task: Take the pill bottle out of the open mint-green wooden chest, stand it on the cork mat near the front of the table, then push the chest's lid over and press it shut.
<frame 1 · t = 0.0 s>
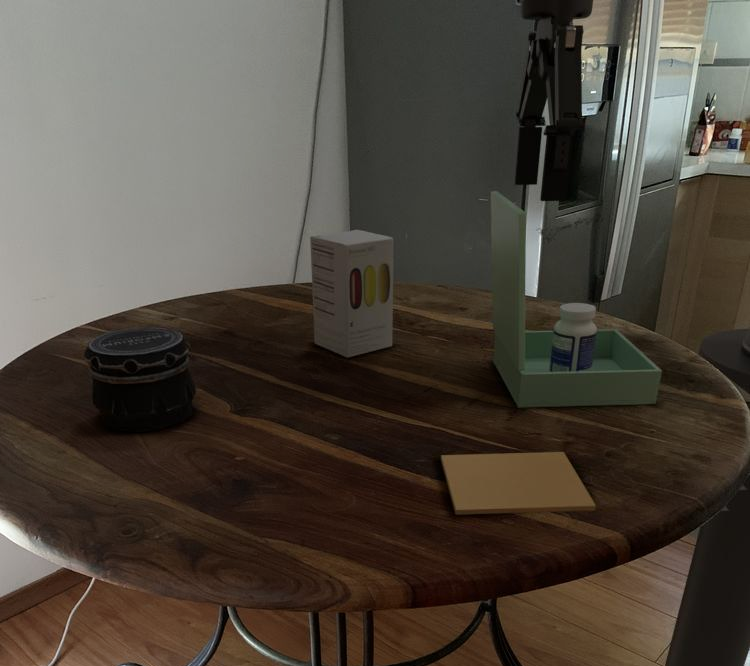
hand: (538, 192, 88), 25 cm above the table, tool pointing down, fingers open, 13 cm apart
supplement box: (353, 346, 118), on the table
pill bottle: (568, 378, 103), resting on chest
cork mat: (513, 483, 78), on the table
chest: (568, 381, 104), on the table
chest lid: (507, 278, 96), point 15 cm above the table, hinge at 95.0°
container: (148, 416, 95), on the table
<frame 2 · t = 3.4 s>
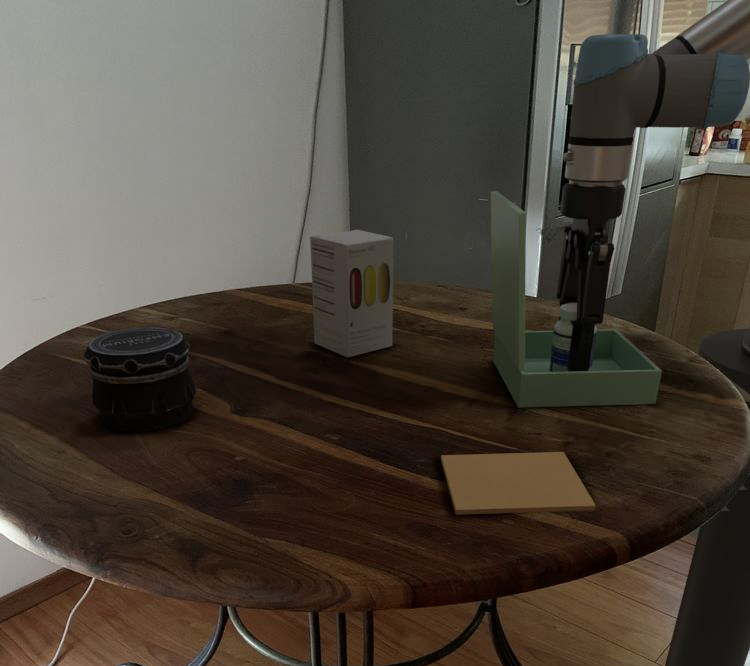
hand: (571, 361, 102), 3 cm above the table, tool pointing down, fingers closed on pill bottle, 6 cm apart
pill bottle: (569, 378, 103), resting on chest, touching gripper
everything else where it was.
when the fingers open (3 cm above the table, at t = 12.2 s): pill bottle stays where it is, resting on cork mat.
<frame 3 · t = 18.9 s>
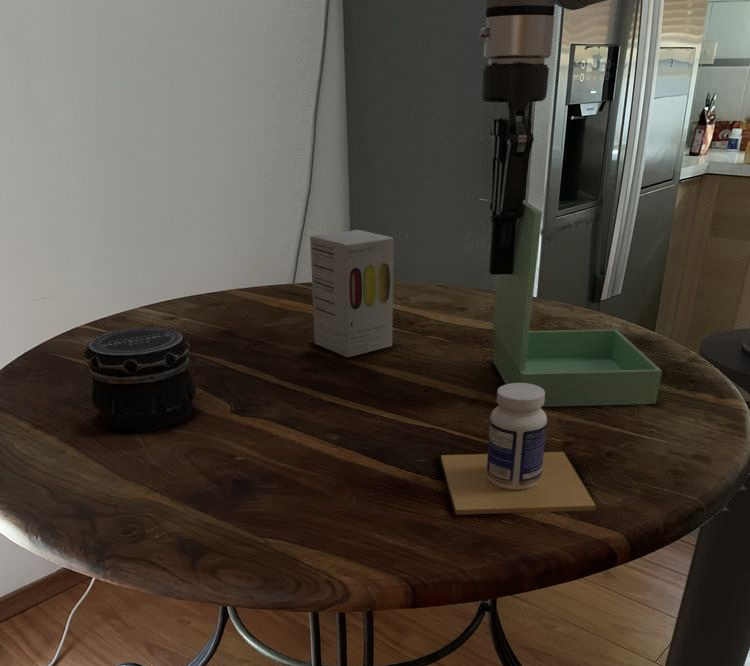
hand: (500, 272, 96), 15 cm above the table, tool pointing down, fingers closed
pill bottle: (512, 480, 78), resting on cork mat
chest lid: (514, 277, 96), point 15 cm above the table, hinge at 89.3°, touching gripper
everything else where it was.
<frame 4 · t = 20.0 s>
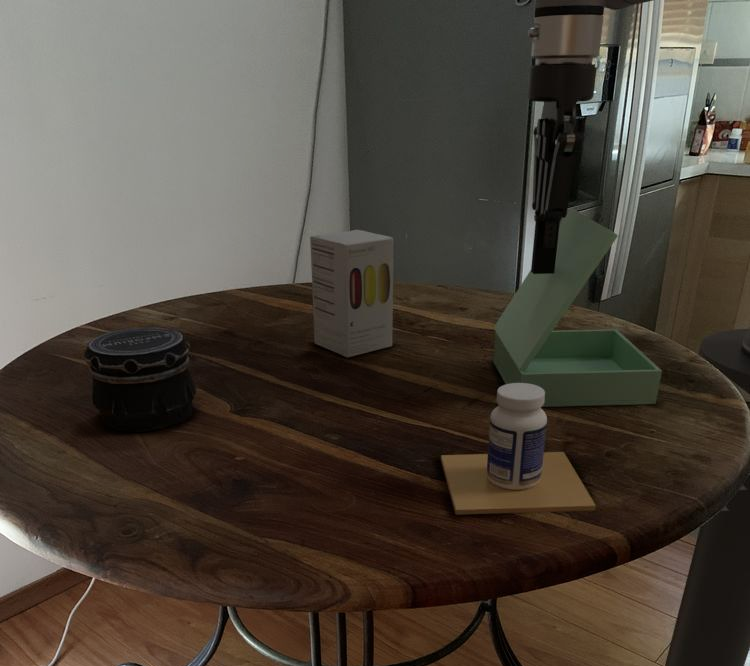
hand: (542, 272, 96), 15 cm above the table, tool pointing down, fingers closed
chest lid: (548, 287, 97), point 13 cm above the table, hinge at 60.0°, touching gripper
everything else where it was.
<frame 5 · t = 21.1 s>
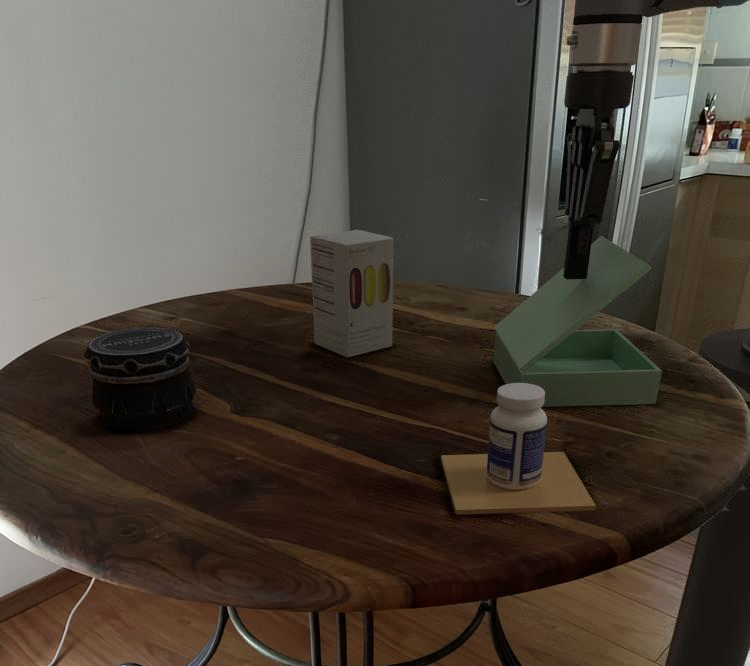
hand: (574, 277, 96), 14 cm above the table, tool pointing down, fingers closed
chest lid: (564, 301, 98), point 11 cm above the table, hinge at 41.7°, touching gripper
everything else where it was.
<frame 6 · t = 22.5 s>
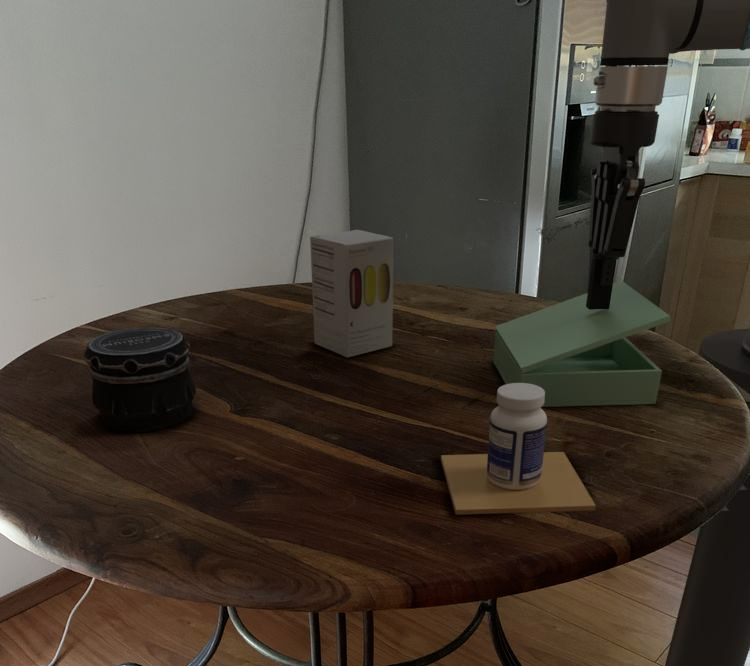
hand: (597, 307, 98), 10 cm above the table, tool pointing down, fingers closed
chest lid: (575, 324, 99), point 8 cm above the table, hinge at 19.4°, touching gripper
everything else where it was.
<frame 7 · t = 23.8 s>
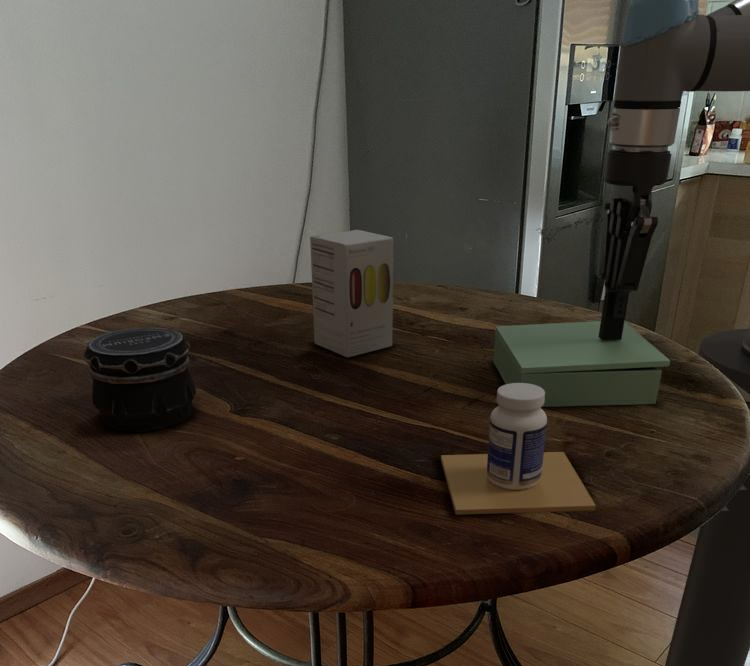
hand: (609, 338, 101), 6 cm above the table, tool pointing down, fingers closed
chest lid: (576, 344, 101), point 5 cm above the table, hinge at 1.6°, touching gripper
everything else where it was.
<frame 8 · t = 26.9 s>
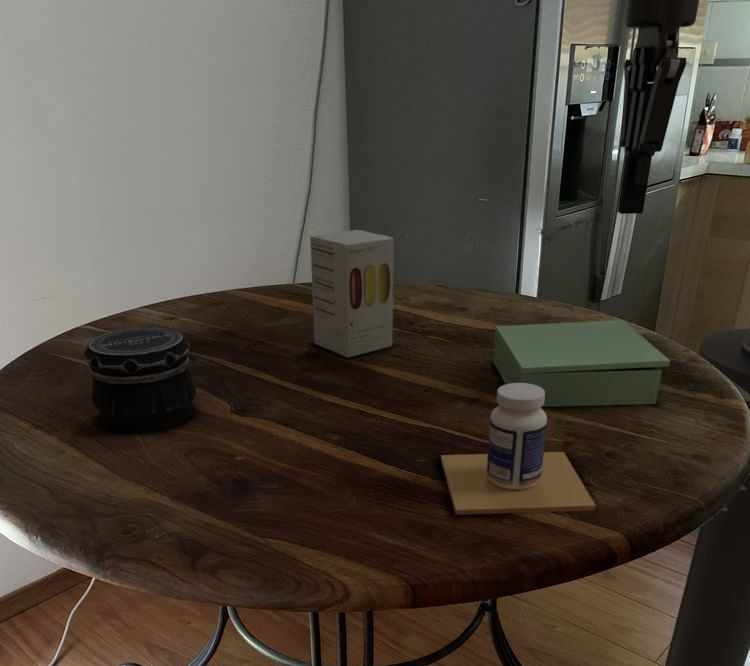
hand: (629, 212, 92), 22 cm above the table, tool pointing down, fingers closed
chest lid: (576, 344, 101), point 5 cm above the table, hinge at 1.5°
everything else where it was.
at the end: pill bottle inside the target area on the cork mat (0.1 cm from its centre), point 0.4 cm above the cork mat's base; pill bottle tilted 0°; chest lid at +2° (first picture: +95°) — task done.
